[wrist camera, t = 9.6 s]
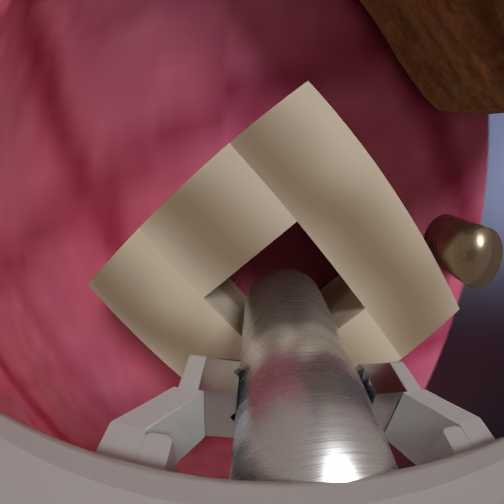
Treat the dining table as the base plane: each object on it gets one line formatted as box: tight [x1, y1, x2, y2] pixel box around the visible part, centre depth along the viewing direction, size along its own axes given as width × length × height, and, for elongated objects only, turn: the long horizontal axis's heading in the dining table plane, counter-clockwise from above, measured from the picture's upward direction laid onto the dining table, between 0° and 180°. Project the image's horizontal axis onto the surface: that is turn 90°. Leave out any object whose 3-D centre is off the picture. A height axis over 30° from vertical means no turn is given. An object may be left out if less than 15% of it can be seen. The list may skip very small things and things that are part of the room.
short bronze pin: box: [424, 214, 502, 289], centre depth 16 cm, size 4×4×4 cm
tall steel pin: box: [229, 269, 399, 483], centre depth 8 cm, size 4×4×12 cm
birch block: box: [88, 81, 459, 377], centre depth 16 cm, size 14×14×5 cm
